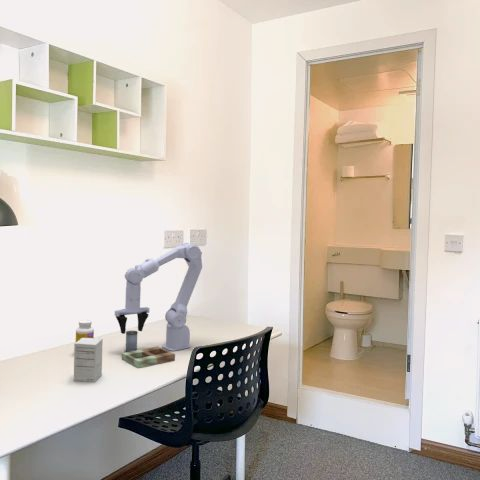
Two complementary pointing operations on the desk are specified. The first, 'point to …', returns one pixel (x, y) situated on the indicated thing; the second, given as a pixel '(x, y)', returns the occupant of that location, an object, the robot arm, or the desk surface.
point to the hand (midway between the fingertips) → (131, 332)
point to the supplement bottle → (84, 330)
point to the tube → (131, 341)
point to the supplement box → (88, 359)
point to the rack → (148, 357)
